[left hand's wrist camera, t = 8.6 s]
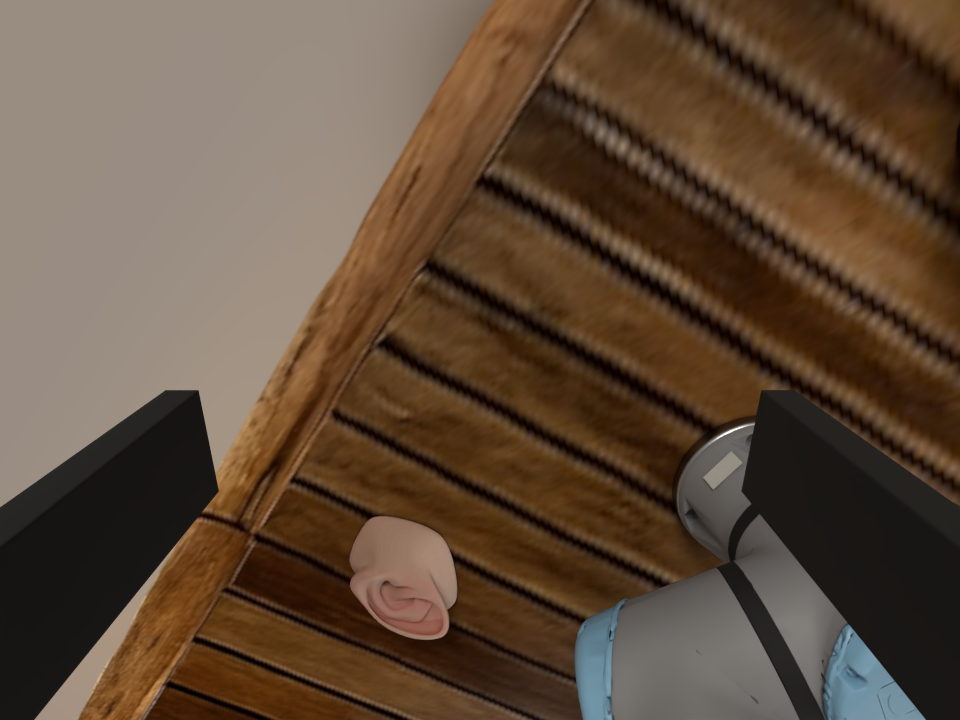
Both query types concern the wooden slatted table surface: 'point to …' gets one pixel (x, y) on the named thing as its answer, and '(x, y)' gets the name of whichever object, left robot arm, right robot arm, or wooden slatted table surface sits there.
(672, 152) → the wooden slatted table surface
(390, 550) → the anatomical model
